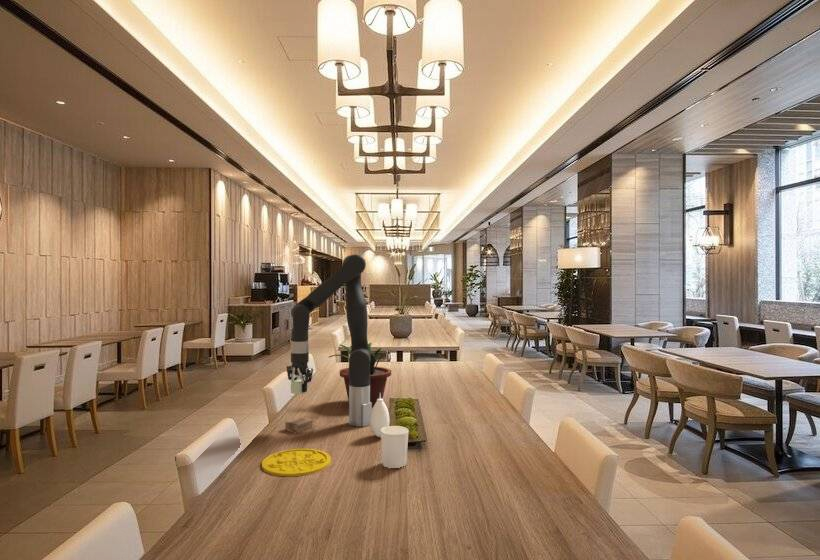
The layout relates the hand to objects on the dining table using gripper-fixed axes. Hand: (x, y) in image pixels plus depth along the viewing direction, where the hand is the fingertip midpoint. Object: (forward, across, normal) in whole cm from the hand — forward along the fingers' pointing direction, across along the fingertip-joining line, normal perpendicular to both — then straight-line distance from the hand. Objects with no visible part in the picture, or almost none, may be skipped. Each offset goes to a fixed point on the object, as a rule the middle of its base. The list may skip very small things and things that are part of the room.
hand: (299, 391), depth 207 cm
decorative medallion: (+17, -27, +27) cm, 42 cm away
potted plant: (+17, +5, -47) cm, 50 cm away
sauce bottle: (+16, -34, -12) cm, 40 cm away
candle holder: (+16, -56, +9) cm, 59 cm away
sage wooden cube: (+1, 0, 0) cm, 1 cm away
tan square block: (+17, 0, 0) cm, 17 cm away
